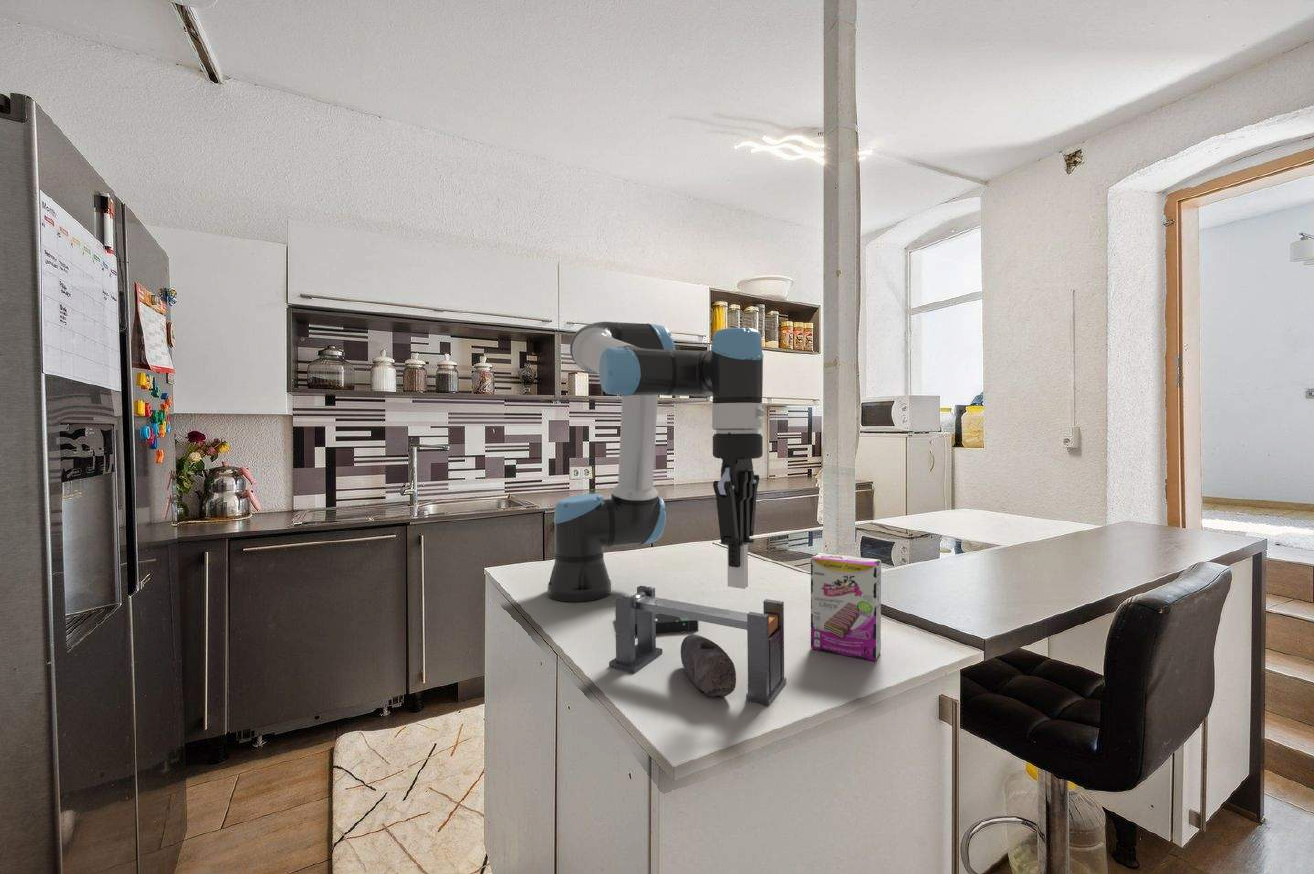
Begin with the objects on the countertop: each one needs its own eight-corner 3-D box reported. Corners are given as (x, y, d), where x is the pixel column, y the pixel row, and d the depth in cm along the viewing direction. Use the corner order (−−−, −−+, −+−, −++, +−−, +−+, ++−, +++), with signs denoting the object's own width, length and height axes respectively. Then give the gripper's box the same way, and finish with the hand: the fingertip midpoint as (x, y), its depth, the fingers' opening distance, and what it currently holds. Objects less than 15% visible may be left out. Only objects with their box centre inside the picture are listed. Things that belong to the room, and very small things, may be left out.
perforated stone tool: (671, 665, 91) (671, 623, 91) (701, 661, 93) (700, 620, 93) (705, 709, 77) (705, 659, 77) (739, 703, 78) (739, 654, 78)
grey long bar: (638, 602, 96) (637, 590, 96) (777, 628, 83) (777, 613, 83) (622, 610, 92) (622, 597, 92) (767, 638, 79) (767, 623, 79)
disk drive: (623, 640, 104) (699, 633, 106) (623, 625, 104) (699, 618, 106) (618, 621, 114) (687, 615, 117) (617, 608, 114) (687, 602, 117)
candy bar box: (809, 650, 97) (809, 557, 97) (817, 640, 101) (816, 551, 101) (877, 663, 91) (876, 564, 91) (882, 652, 95) (881, 558, 95)
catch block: (764, 678, 86) (764, 598, 86) (786, 683, 84) (785, 601, 84) (745, 700, 79) (745, 613, 79) (768, 705, 77) (768, 617, 77)
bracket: (638, 647, 98) (637, 584, 98) (662, 653, 96) (661, 587, 96) (609, 666, 91) (608, 597, 91) (634, 673, 88) (633, 601, 88)
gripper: (744, 432, 76) (745, 602, 76) (775, 431, 87) (775, 579, 88) (696, 432, 80) (696, 594, 80) (731, 431, 91) (731, 572, 91)
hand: (737, 586), depth 84 cm, fingers closed
